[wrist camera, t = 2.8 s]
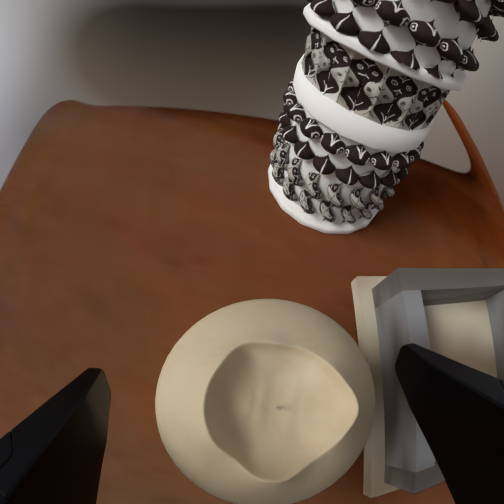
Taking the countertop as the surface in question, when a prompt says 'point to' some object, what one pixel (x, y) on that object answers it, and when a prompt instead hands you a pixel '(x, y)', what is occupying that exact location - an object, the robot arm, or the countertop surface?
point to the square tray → (430, 337)
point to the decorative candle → (368, 101)
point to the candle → (265, 402)
